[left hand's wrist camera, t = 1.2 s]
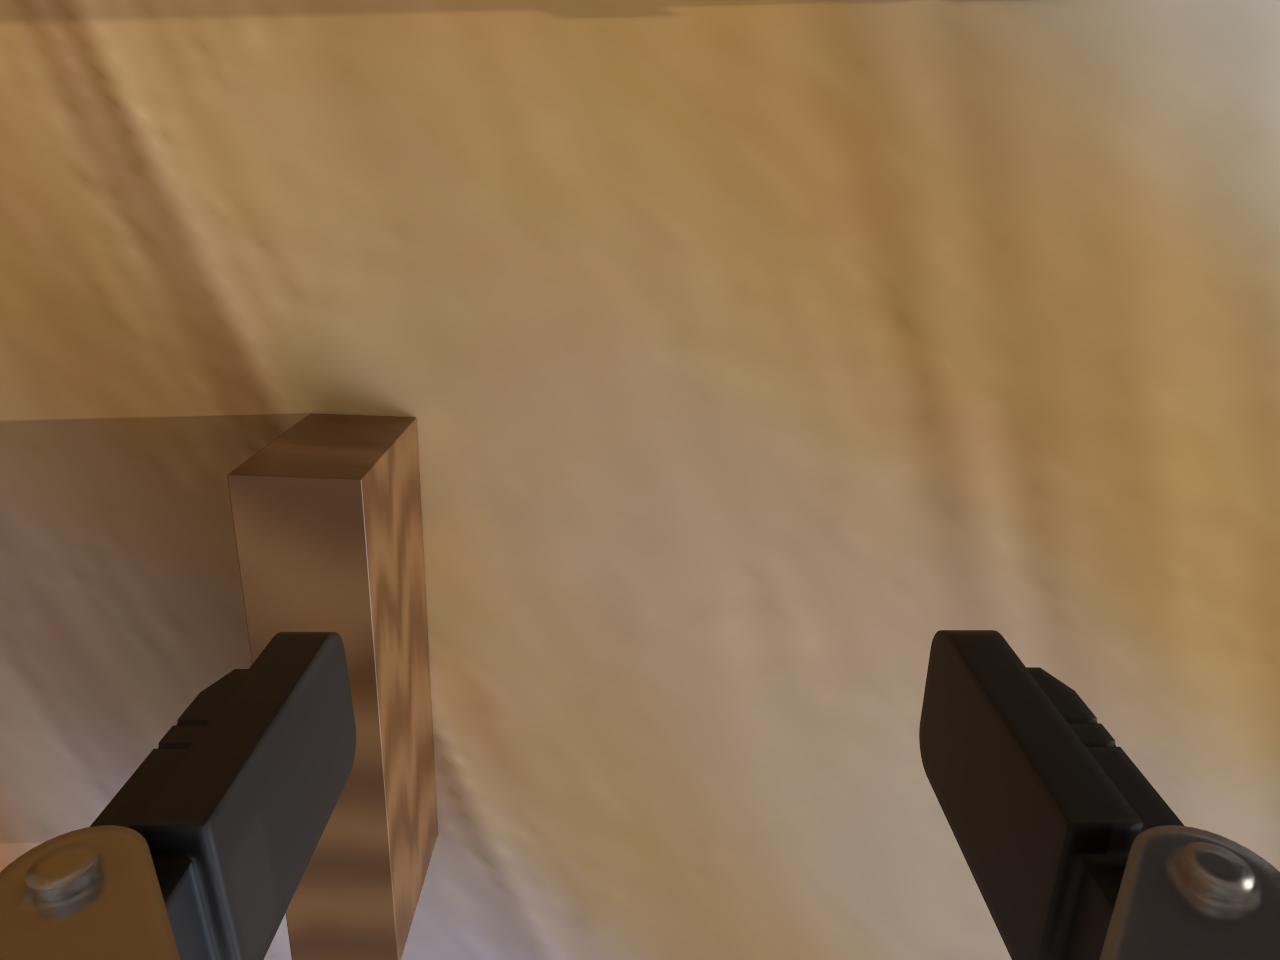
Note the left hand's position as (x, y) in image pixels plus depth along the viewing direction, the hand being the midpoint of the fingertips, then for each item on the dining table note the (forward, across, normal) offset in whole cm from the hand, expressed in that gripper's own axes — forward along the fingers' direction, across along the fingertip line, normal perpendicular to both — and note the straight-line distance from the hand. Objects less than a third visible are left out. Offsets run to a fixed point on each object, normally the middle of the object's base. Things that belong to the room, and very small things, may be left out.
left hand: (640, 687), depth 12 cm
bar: (+29, -14, -18) cm, 37 cm away
